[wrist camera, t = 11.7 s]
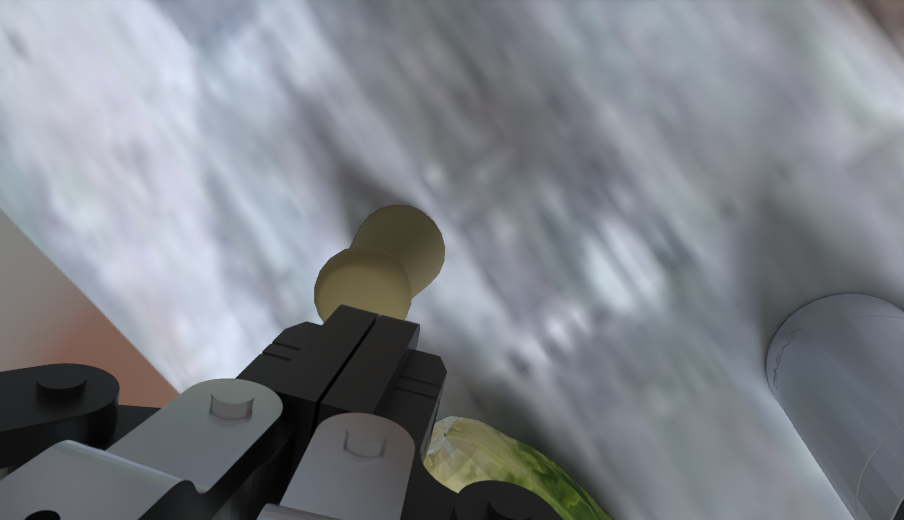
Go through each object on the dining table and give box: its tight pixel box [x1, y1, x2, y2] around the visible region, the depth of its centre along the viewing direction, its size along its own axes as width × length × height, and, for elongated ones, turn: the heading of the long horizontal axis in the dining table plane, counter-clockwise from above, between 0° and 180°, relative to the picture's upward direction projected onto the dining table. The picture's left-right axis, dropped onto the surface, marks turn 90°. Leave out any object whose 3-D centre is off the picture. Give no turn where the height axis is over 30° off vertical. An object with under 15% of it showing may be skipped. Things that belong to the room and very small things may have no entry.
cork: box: [314, 205, 445, 322], centre depth 41 cm, size 6×6×11 cm
